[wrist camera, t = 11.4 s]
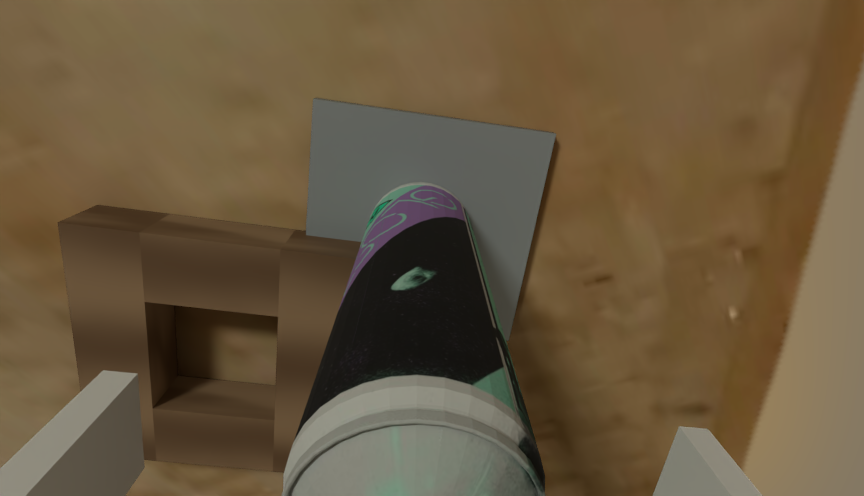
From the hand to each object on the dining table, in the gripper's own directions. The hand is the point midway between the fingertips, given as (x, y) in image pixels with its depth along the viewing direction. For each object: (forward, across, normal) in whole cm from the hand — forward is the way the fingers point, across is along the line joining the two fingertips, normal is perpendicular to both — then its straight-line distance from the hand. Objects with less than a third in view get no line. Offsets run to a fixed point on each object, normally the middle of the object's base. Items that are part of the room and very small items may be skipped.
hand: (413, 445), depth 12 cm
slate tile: (+16, 0, +1) cm, 16 cm away
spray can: (+15, 0, +1) cm, 15 cm away
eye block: (+16, -10, -7) cm, 20 cm away
